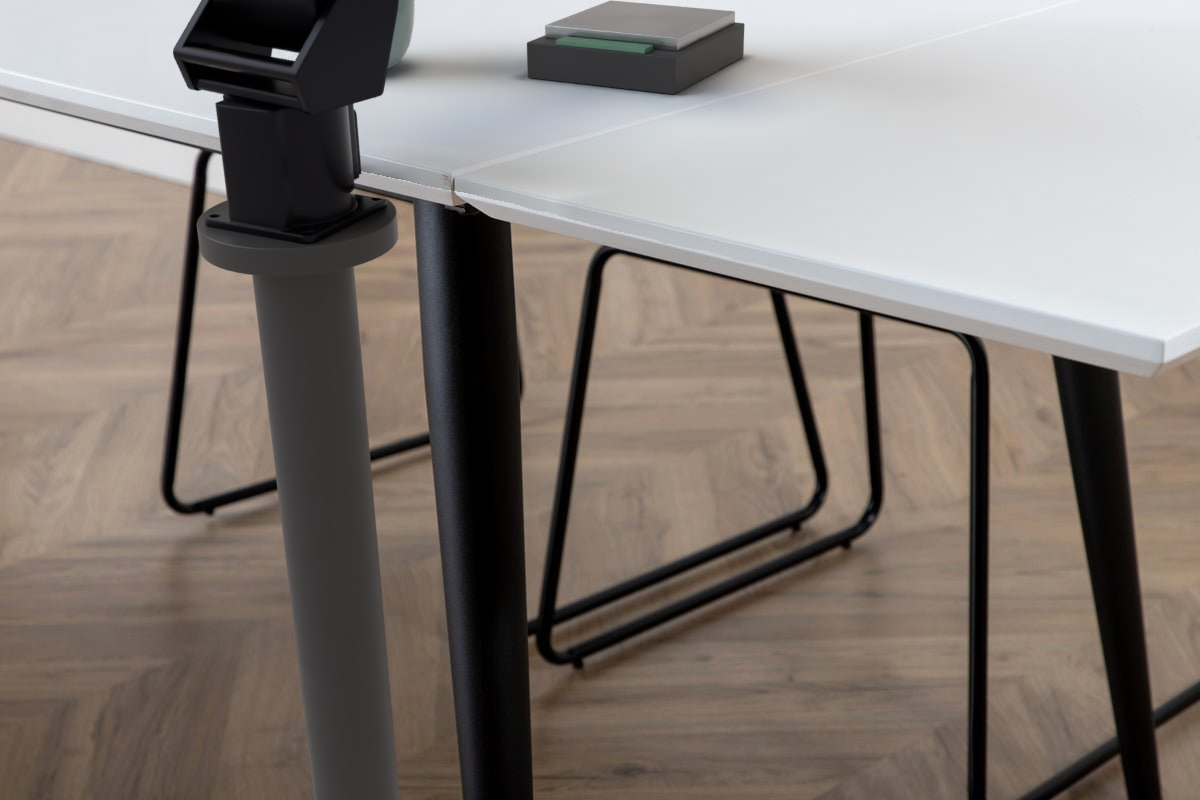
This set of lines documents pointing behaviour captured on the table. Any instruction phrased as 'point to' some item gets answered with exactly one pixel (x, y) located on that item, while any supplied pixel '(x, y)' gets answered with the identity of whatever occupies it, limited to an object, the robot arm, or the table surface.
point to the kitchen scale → (637, 46)
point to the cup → (402, 31)
